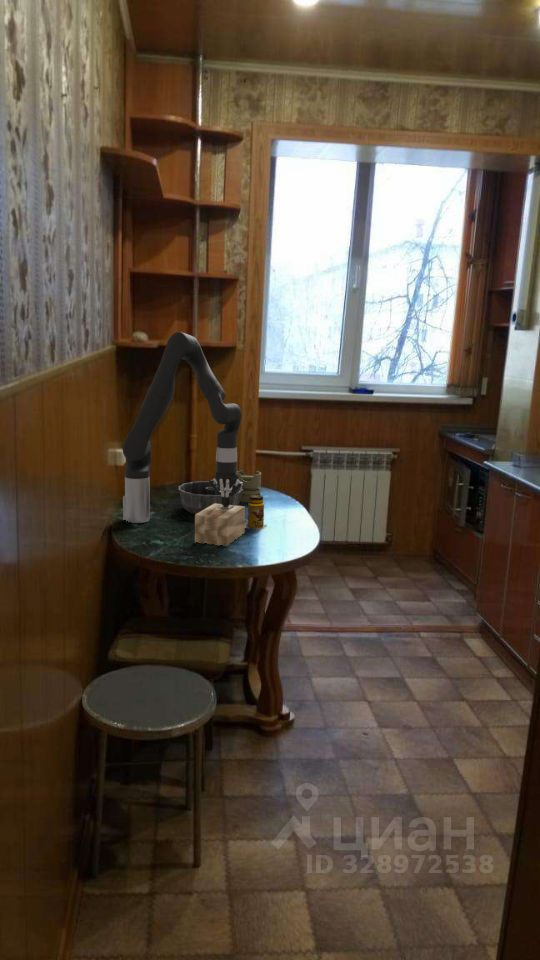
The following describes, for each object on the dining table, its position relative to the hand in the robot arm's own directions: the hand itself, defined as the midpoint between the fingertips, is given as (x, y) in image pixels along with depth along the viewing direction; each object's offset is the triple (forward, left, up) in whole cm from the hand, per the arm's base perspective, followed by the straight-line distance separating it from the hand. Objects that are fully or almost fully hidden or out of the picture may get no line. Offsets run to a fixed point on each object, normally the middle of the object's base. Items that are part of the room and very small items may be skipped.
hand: (225, 506), depth 257 cm
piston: (-11, +55, -11) cm, 57 cm away
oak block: (0, -5, -10) cm, 11 cm away
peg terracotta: (0, -10, -8) cm, 13 cm away
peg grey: (0, 0, -8) cm, 8 cm away
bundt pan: (-18, +29, -11) cm, 36 cm away
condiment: (+6, +14, -11) cm, 18 cm away
